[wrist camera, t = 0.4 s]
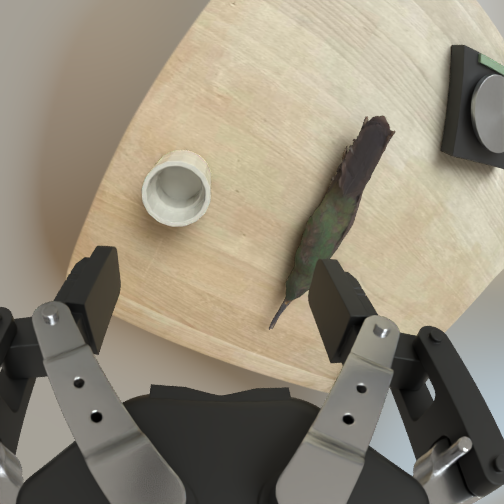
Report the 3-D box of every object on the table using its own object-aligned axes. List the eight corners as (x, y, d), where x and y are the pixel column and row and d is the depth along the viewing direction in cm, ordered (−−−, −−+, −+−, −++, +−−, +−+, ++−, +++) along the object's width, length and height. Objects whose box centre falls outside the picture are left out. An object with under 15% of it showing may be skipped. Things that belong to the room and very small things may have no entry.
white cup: (151, 150, 29) (139, 163, 24) (211, 148, 30) (210, 160, 25) (155, 206, 32) (145, 227, 28) (211, 204, 33) (210, 226, 28)
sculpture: (389, 124, 30) (414, 133, 25) (285, 323, 42) (292, 350, 38) (353, 104, 28) (375, 109, 24) (253, 317, 41) (257, 344, 37)
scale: (451, 44, 24) (467, 44, 22) (508, 74, 26) (522, 77, 23) (440, 150, 31) (454, 157, 29) (496, 164, 33) (509, 171, 30)
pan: (474, 63, 23) (478, 63, 22) (520, 88, 24) (524, 89, 23) (465, 143, 28) (469, 145, 27) (510, 157, 29) (514, 159, 28)
